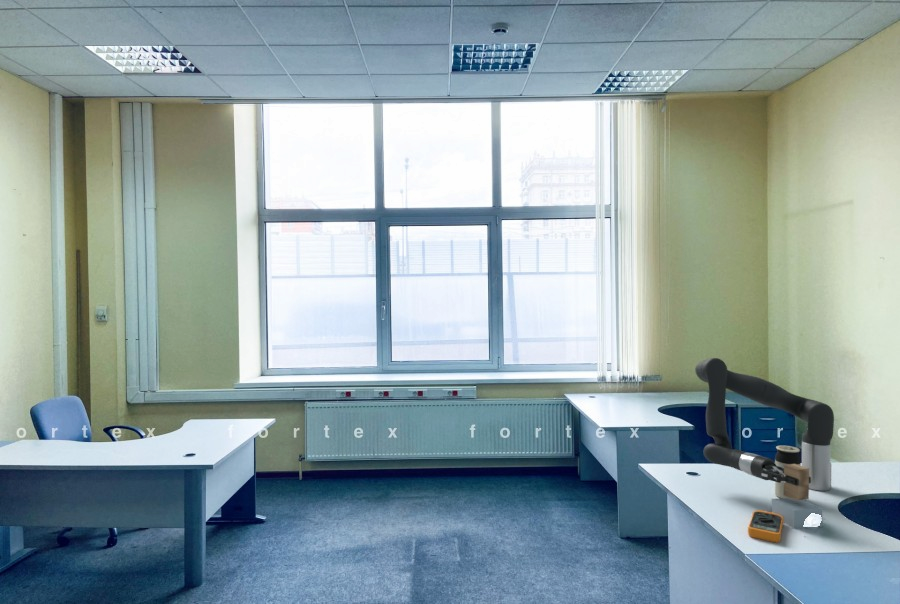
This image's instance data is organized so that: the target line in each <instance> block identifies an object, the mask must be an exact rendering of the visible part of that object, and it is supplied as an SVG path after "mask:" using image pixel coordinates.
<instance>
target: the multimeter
mask: <svg viewBox="0 0 900 604" xmlns="http://www.w3.org/2000/svg"><path fill="white" fill-rule="evenodd" d="M783 526H784V523H783V517H782V516H781V515H779V514H776V513H772V511H771V512H770V511H767V510H766V511H765V510H754V511H753V512H752V516H751V519H750V521H749V524H748V526H747V533H748V536H749V537H750V538H753V539H757V540H762V541H767V542H771V543H775V544H778V543H780V542H781V536H782V530H783Z"/></svg>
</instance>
